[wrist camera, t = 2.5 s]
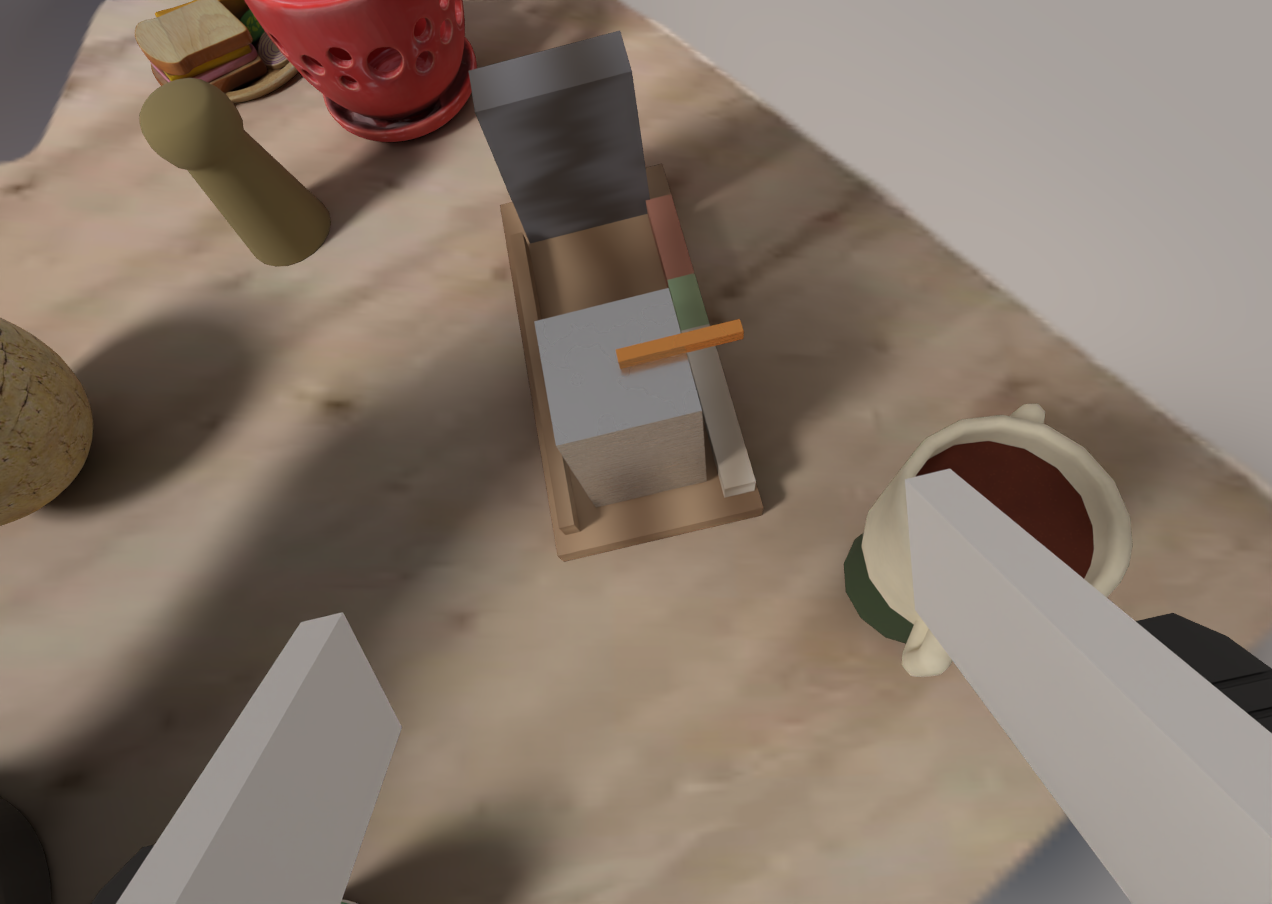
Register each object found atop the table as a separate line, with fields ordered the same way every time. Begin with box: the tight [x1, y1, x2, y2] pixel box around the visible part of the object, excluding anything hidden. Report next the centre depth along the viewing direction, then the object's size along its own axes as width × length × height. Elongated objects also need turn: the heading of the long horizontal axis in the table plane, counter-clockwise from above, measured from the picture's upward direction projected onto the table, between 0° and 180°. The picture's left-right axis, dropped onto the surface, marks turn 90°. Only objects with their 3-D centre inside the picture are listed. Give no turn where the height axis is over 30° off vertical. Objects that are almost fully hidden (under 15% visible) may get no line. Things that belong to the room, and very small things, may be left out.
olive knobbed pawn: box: [139, 78, 331, 266], centre depth 41 cm, size 6×6×11 cm
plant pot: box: [245, 0, 477, 142], centre depth 44 cm, size 13×13×12 cm
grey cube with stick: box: [534, 288, 744, 507], centre depth 31 cm, size 8×8×10 cm
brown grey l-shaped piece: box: [469, 31, 763, 562], centre depth 34 cm, size 11×24×12 cm, turn 12°
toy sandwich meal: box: [135, 0, 299, 103], centre depth 52 cm, size 12×14×5 cm
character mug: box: [844, 404, 1132, 677], centre depth 27 cm, size 11×7×13 cm, turn 151°
